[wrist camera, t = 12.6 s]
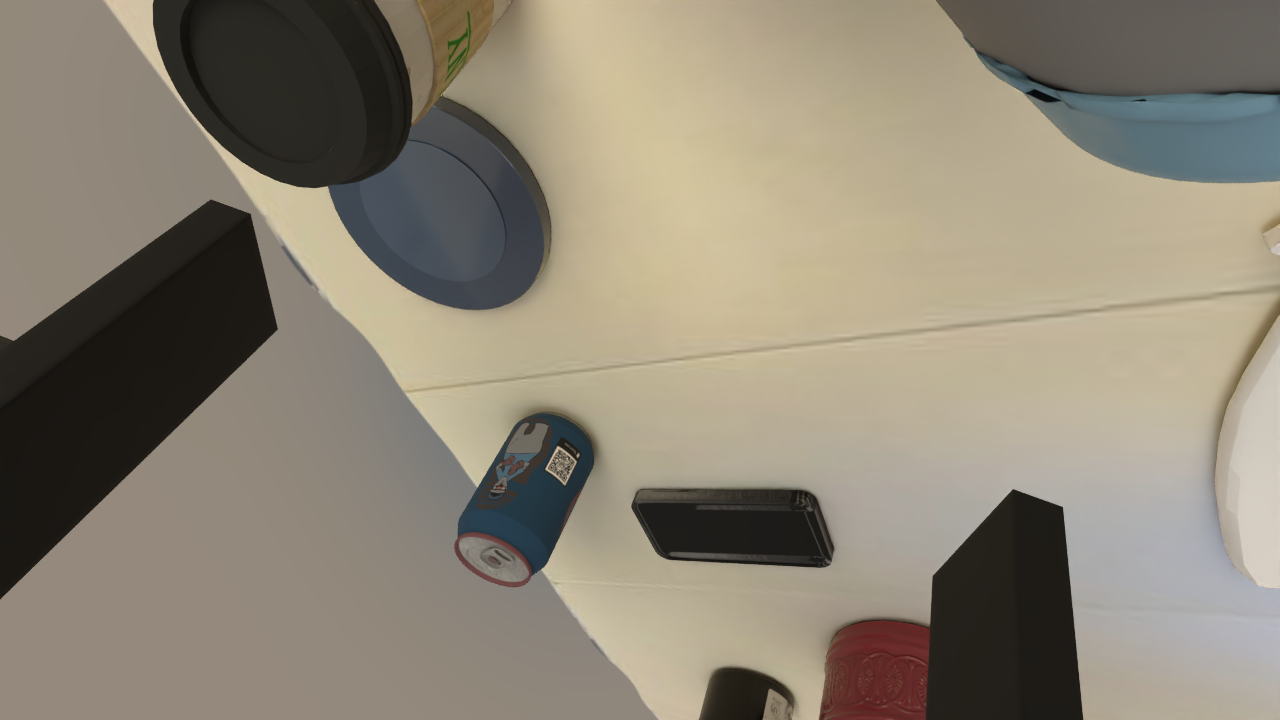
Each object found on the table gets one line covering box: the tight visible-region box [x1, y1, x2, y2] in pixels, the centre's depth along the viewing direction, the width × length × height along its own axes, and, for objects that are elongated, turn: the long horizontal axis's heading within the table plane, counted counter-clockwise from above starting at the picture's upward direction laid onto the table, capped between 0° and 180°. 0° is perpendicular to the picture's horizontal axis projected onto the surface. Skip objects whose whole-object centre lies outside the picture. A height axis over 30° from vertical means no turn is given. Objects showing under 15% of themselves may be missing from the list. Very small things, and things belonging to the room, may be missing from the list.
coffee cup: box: [153, 0, 512, 188], centre depth 33 cm, size 10×10×15 cm
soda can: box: [454, 412, 594, 587], centre depth 57 cm, size 7×7×12 cm
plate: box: [328, 97, 551, 310], centre depth 48 cm, size 15×15×1 cm
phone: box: [631, 490, 833, 568], centre depth 60 cm, size 8×1×15 cm
